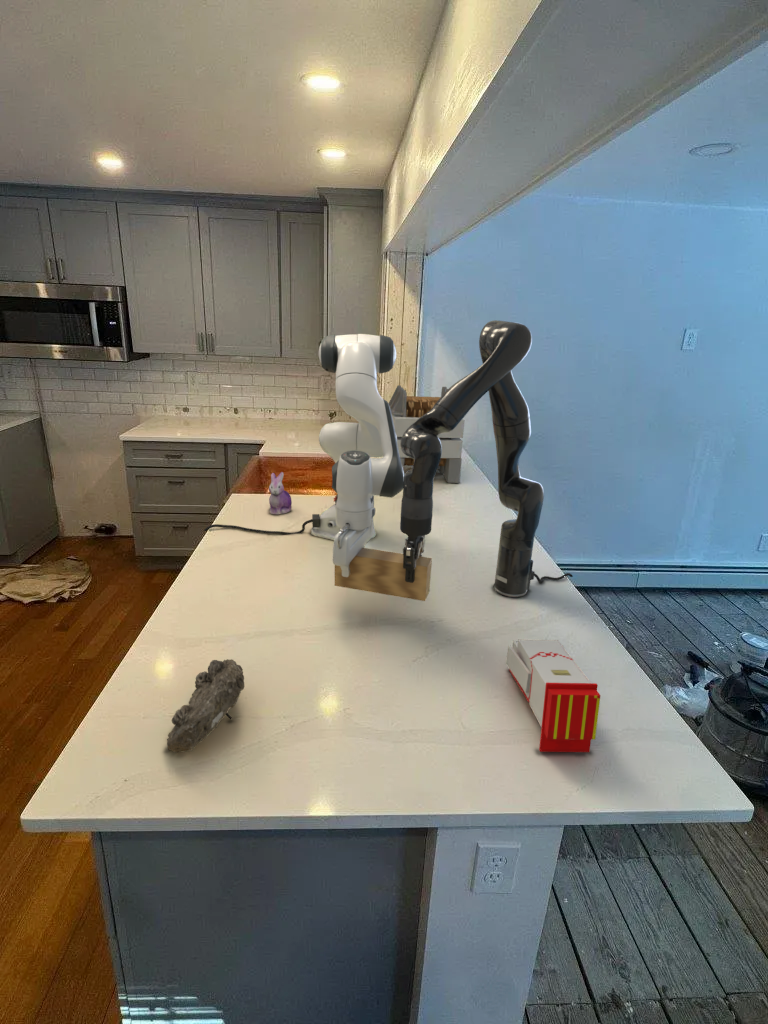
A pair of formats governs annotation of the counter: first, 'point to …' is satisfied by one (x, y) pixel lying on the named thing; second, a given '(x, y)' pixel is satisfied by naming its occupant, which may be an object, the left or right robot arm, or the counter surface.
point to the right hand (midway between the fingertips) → (412, 576)
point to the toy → (556, 694)
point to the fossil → (206, 705)
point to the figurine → (278, 496)
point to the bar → (385, 574)
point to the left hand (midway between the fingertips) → (352, 568)
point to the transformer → (450, 463)
